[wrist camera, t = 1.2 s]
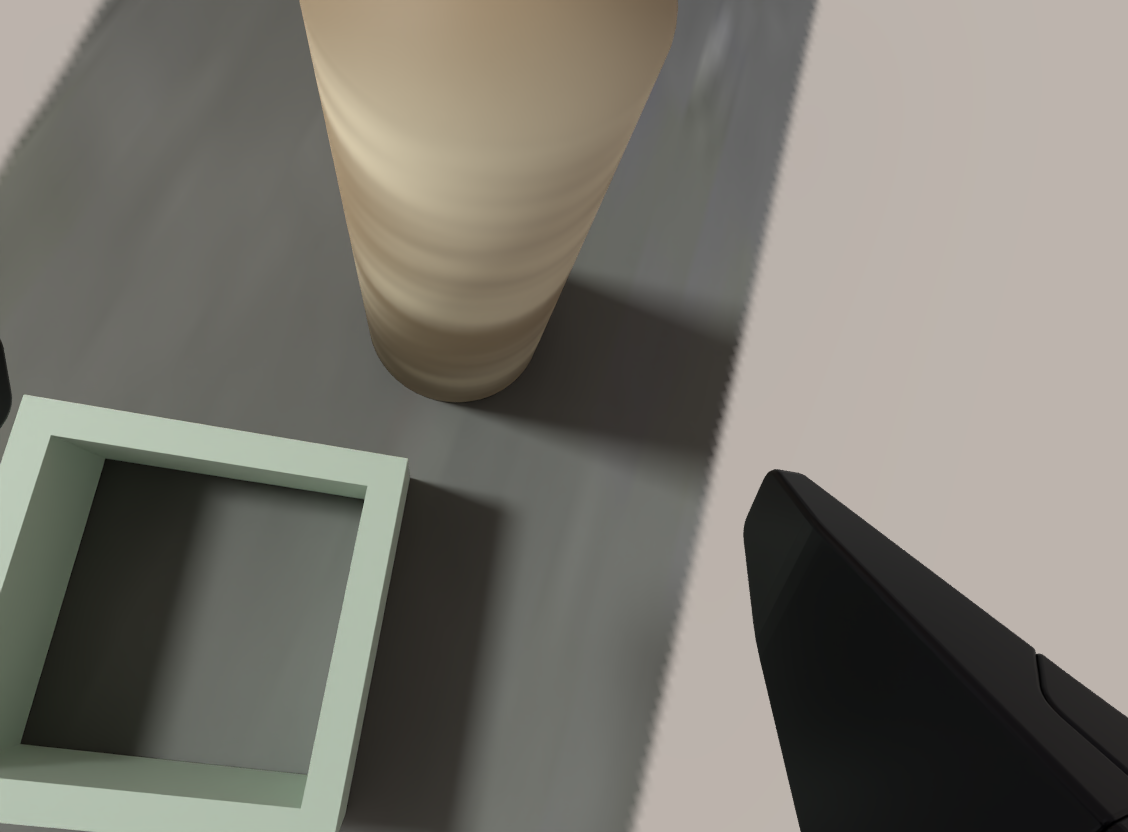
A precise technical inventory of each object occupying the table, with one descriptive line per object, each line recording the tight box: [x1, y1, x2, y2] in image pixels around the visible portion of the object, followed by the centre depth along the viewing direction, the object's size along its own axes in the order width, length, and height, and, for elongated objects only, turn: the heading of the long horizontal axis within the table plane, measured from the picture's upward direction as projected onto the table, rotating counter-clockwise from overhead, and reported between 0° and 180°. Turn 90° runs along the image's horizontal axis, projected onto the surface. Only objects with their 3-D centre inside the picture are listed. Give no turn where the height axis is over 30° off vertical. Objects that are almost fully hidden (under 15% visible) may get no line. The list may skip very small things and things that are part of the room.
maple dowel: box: [300, 0, 678, 402], centre depth 16 cm, size 5×5×13 cm
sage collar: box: [0, 395, 410, 832], centre depth 18 cm, size 9×9×3 cm
